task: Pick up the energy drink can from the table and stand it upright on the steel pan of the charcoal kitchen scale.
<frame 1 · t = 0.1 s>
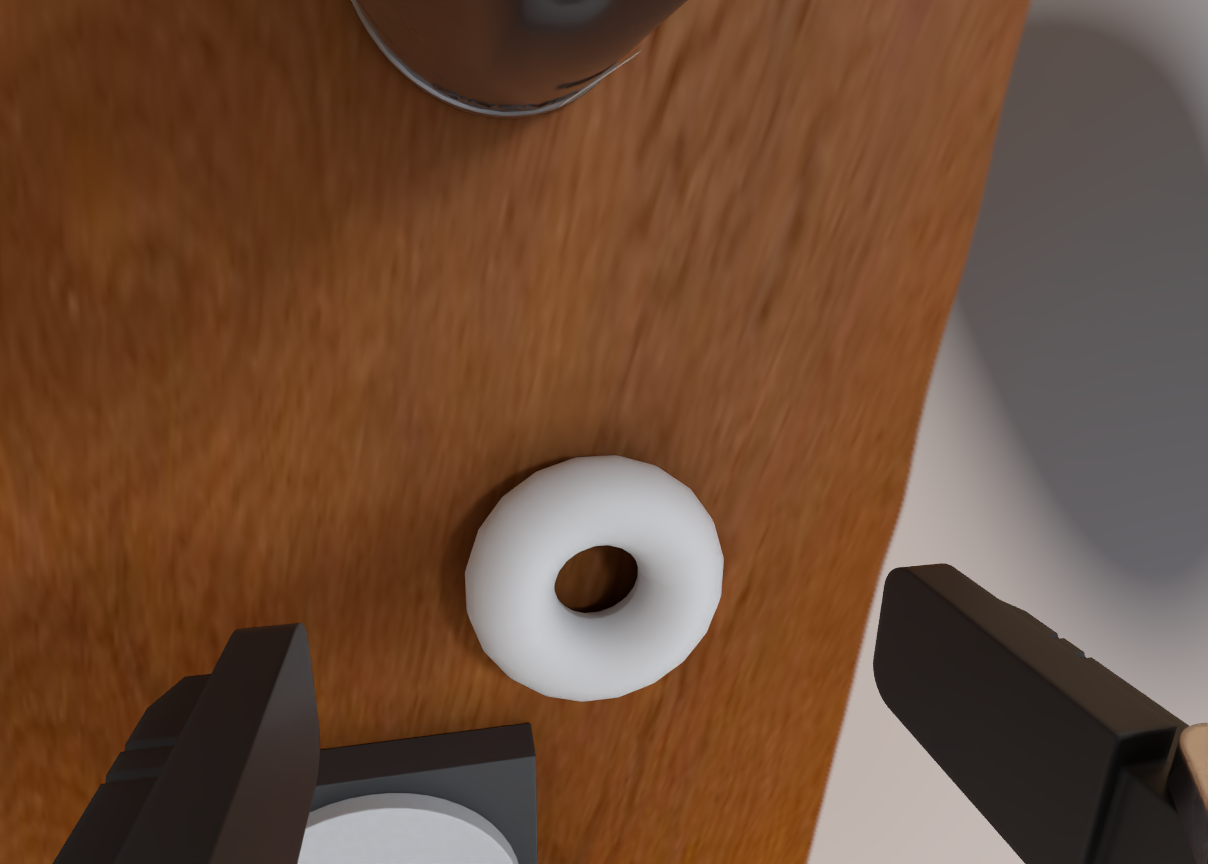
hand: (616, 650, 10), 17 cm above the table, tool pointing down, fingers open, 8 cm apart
donut: (588, 558, 29), on the table
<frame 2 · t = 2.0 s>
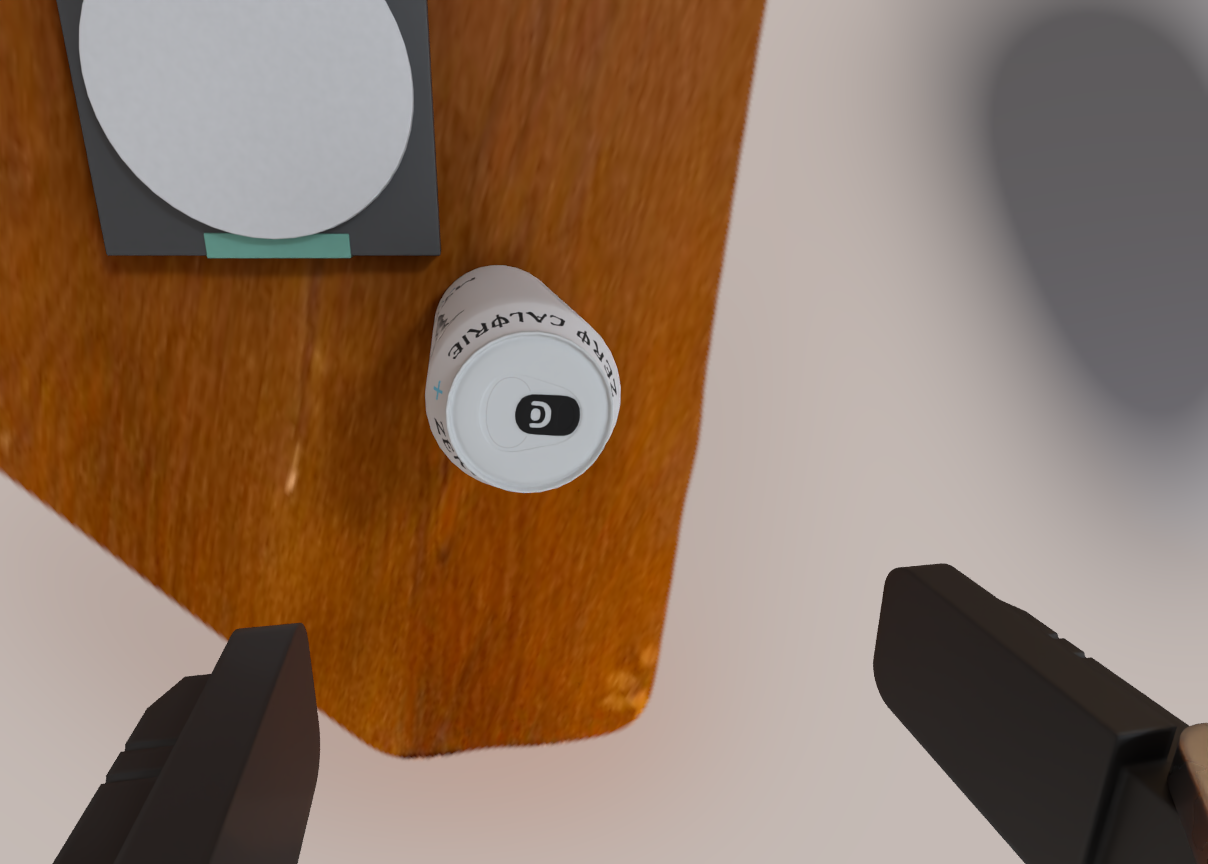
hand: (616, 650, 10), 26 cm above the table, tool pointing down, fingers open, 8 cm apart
scale: (271, 90, 29), on the table
energy drink can: (497, 326, 34), on the table
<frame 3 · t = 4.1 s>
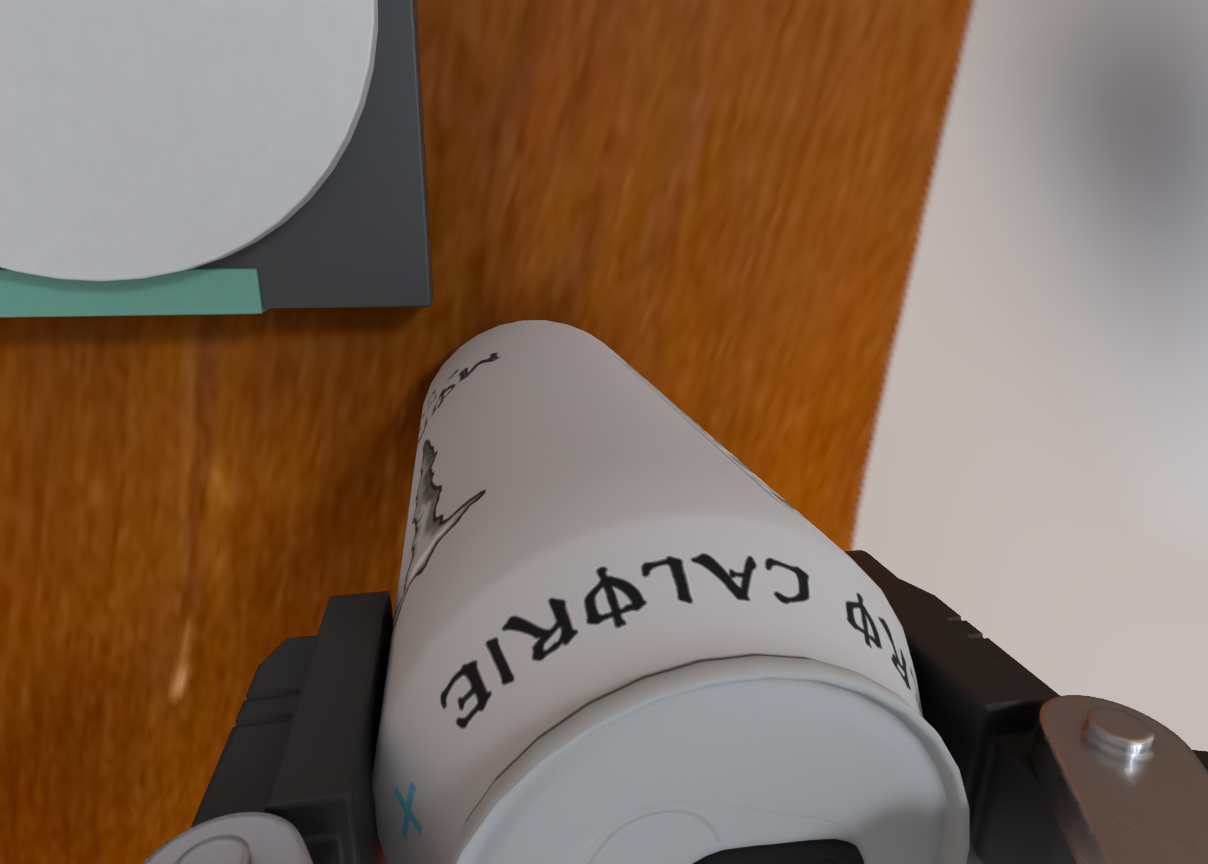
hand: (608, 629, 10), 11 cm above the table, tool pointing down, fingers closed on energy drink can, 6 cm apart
energy drink can: (530, 419, 20), on the table, touching gripper
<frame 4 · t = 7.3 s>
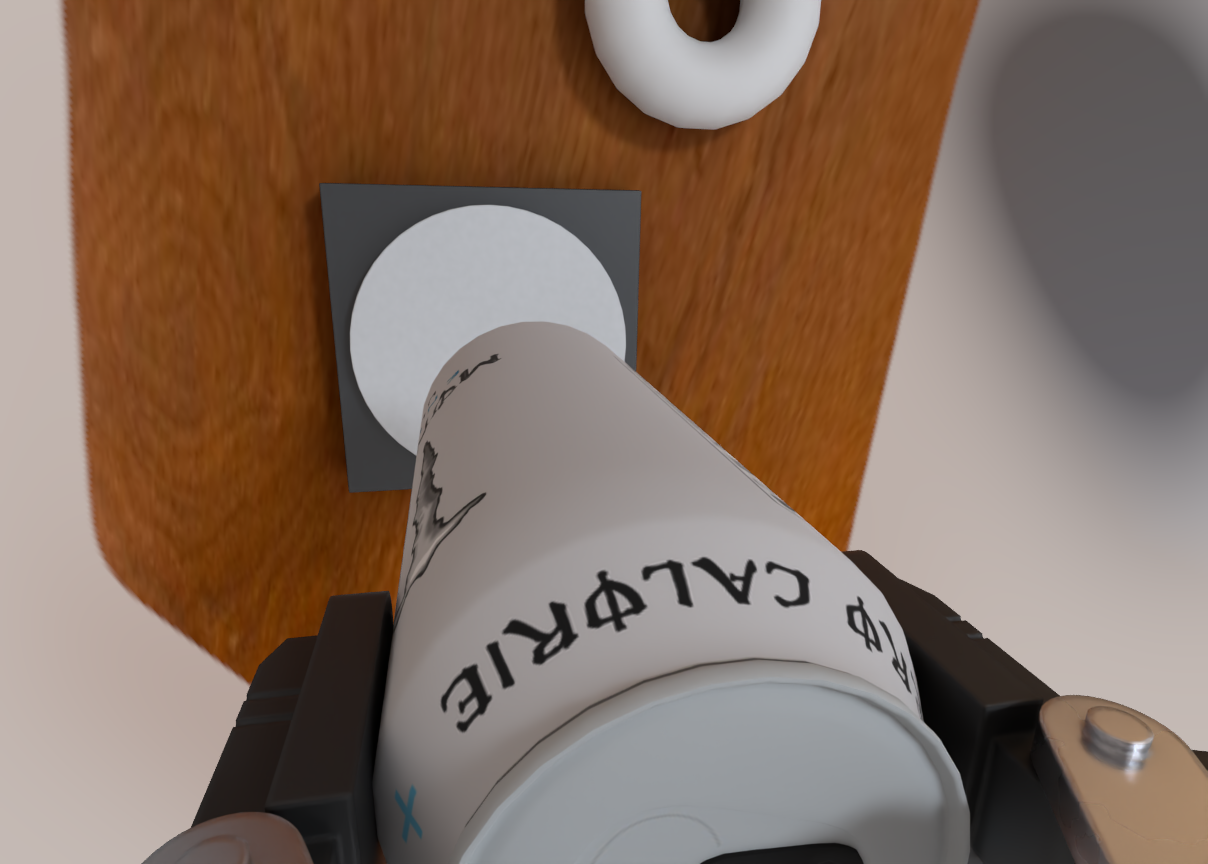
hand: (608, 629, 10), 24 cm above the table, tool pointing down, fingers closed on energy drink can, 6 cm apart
donut: (690, 9, 31), on the table
scale: (489, 337, 33), on the table
energy drink can: (530, 420, 20), point 13 cm above the table, touching gripper
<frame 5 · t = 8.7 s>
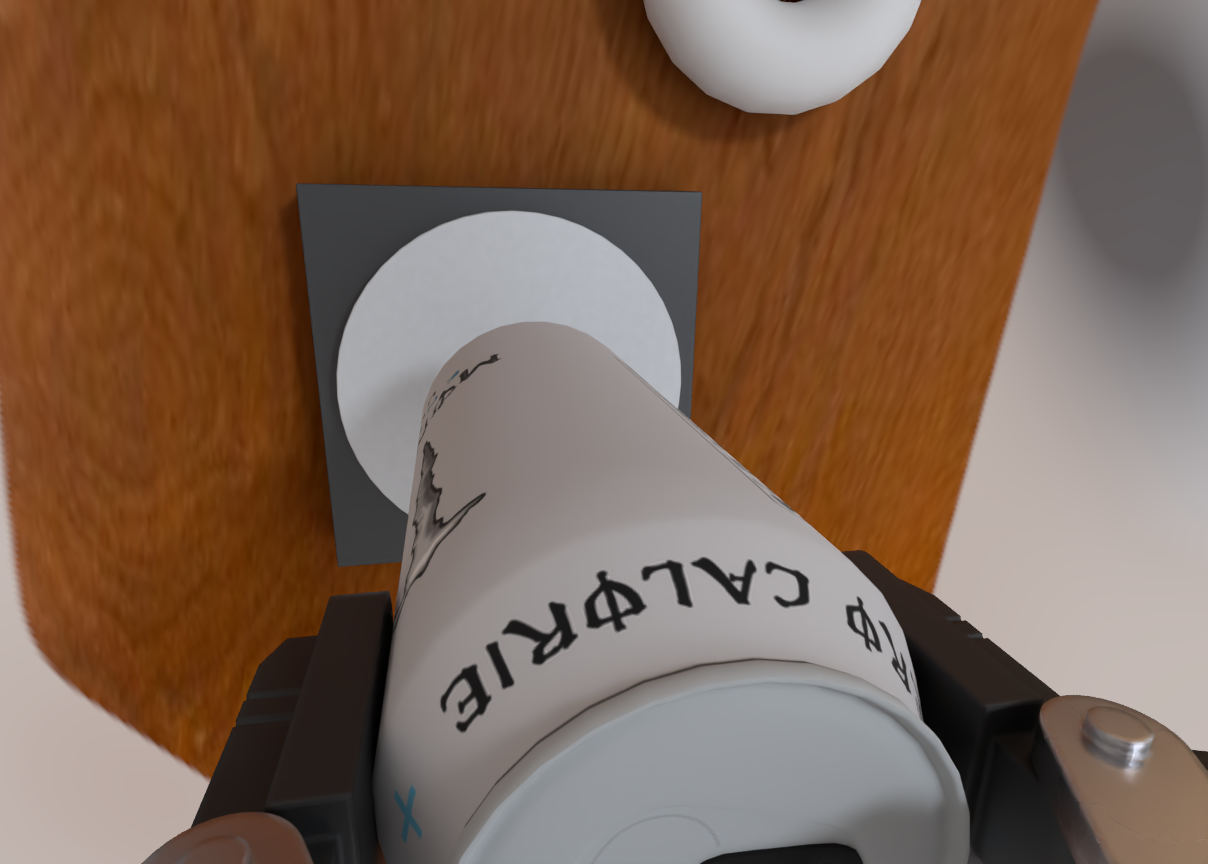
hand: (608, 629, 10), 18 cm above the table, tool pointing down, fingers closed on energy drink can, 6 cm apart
scale: (510, 372, 27), on the table
energy drink can: (530, 420, 20), point 7 cm above the table, touching gripper
when the fingers open (13 cm above the table, at t = 10.3 s): energy drink can stays where it is, resting on scale.
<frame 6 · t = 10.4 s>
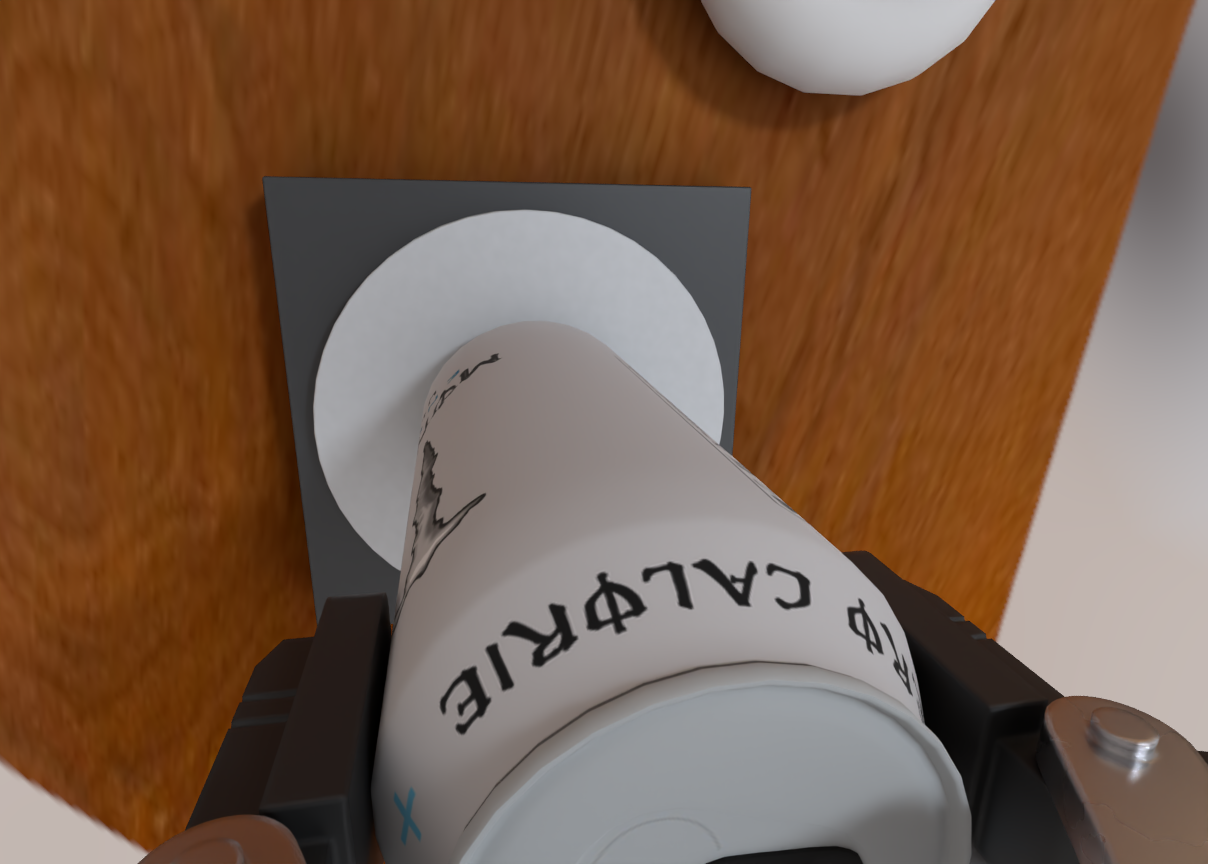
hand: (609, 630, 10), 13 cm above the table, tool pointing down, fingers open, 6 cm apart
scale: (521, 399, 23), on the table
energy drink can: (531, 419, 20), point 3 cm above the table, touching scale
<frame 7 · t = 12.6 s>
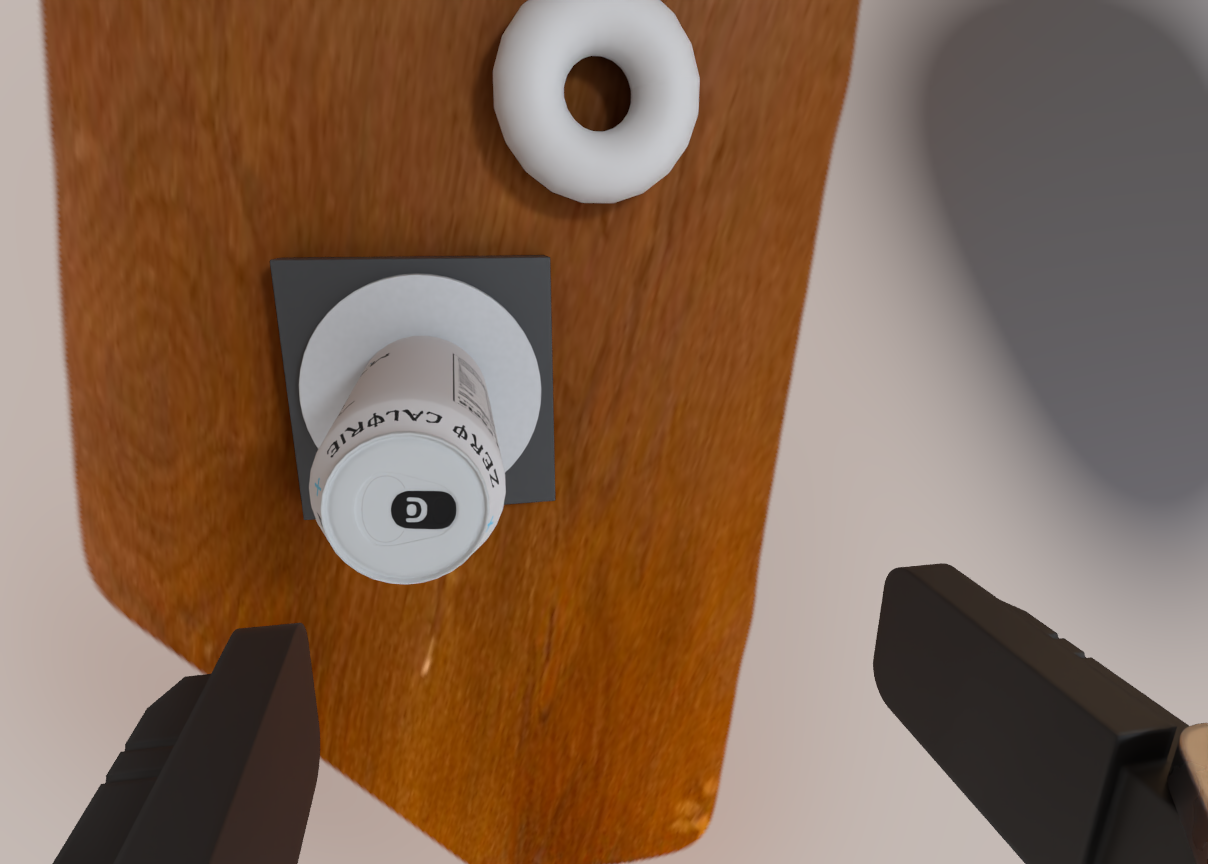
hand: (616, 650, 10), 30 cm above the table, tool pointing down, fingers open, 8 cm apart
donut: (590, 100, 35), on the table
scale: (426, 382, 38), on the table
energy drink can: (425, 392, 35), point 3 cm above the table, touching scale
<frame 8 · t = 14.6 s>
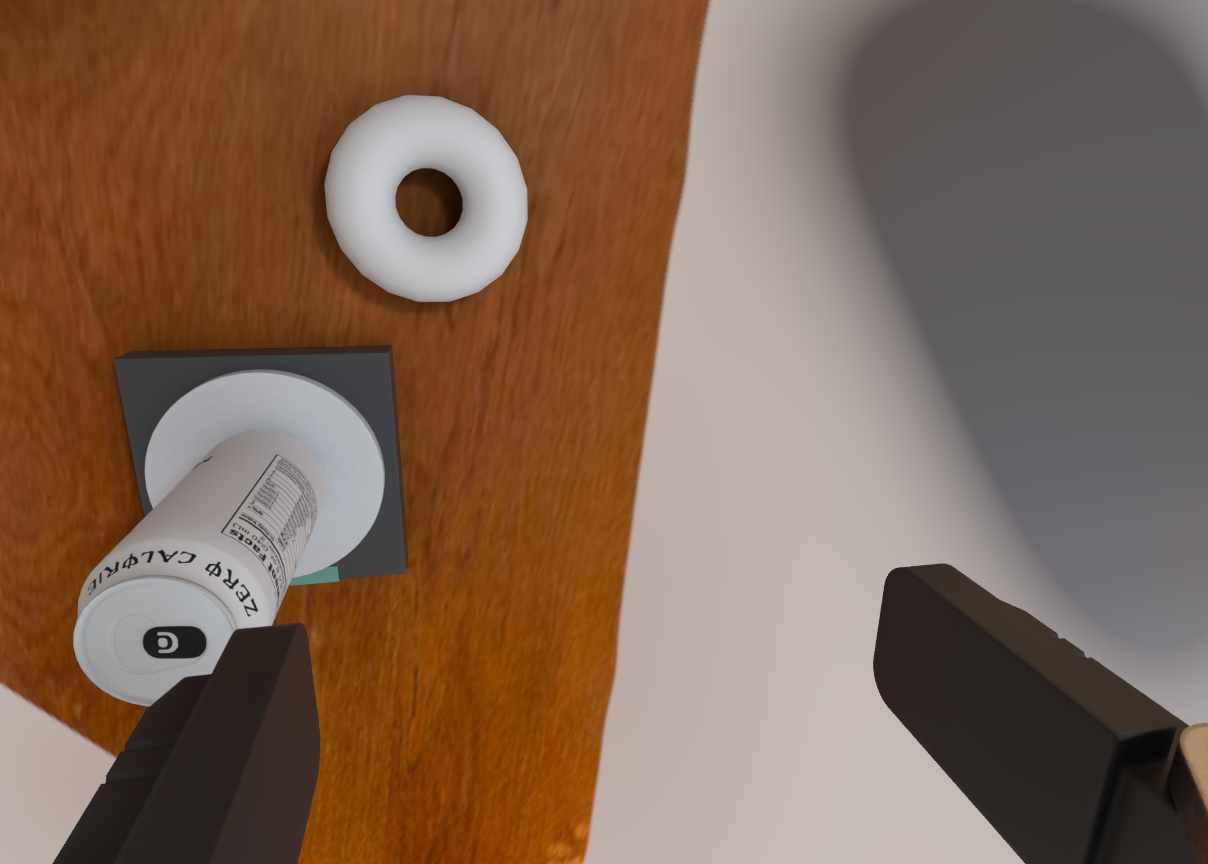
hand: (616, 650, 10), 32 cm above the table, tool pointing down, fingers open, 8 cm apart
donut: (430, 203, 37), on the table
scale: (280, 462, 40), on the table
energy drink can: (269, 478, 37), point 3 cm above the table, touching scale
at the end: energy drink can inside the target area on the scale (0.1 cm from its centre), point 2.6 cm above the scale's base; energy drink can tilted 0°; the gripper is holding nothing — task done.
